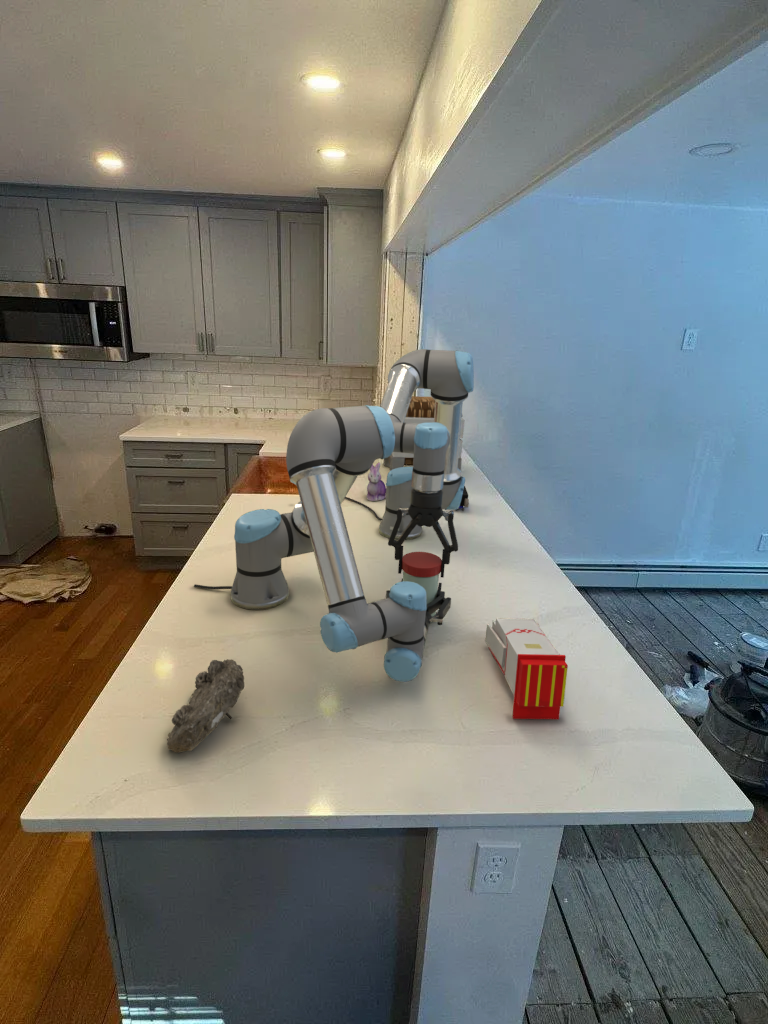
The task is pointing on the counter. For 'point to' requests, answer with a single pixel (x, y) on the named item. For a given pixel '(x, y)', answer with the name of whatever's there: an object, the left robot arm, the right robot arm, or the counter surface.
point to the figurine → (375, 484)
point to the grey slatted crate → (418, 413)
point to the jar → (425, 585)
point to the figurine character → (464, 499)
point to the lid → (421, 564)
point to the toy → (529, 667)
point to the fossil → (206, 705)
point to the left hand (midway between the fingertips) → (421, 585)
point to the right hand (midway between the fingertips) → (421, 573)
